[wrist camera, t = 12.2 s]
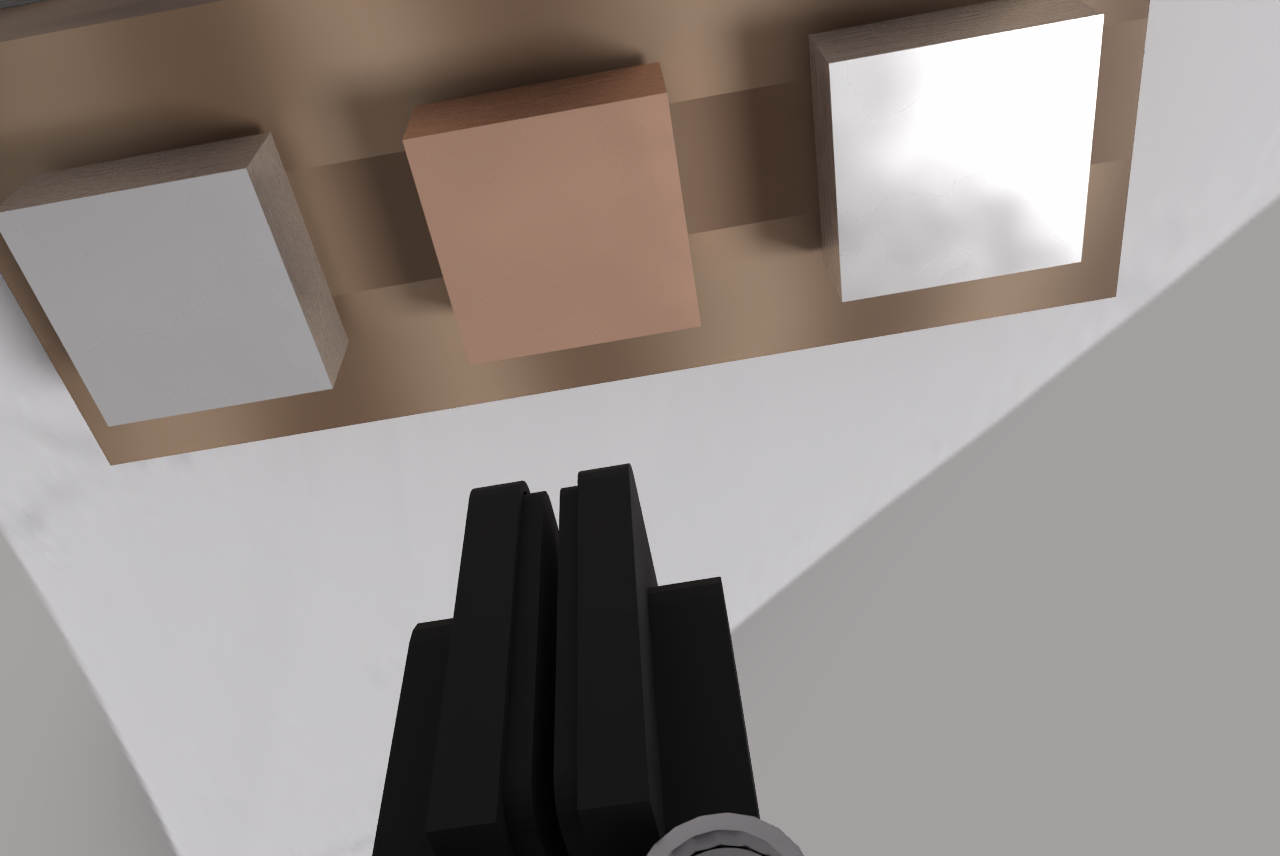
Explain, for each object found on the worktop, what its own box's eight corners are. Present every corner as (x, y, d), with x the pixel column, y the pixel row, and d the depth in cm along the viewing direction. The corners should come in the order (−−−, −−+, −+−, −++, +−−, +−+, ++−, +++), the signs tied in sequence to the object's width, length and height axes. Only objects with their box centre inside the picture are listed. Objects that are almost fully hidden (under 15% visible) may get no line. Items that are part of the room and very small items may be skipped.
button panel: (1082, -196, 23) (1170, -178, 19) (1052, 227, 28) (1115, 296, 25) (-24, 14, 24) (-119, 64, 20) (161, 380, 30) (110, 465, 26)
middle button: (646, 12, 24) (666, 92, 19) (676, 212, 27) (701, 326, 22) (434, 51, 24) (402, 140, 20) (487, 245, 27) (469, 365, 22)
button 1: (309, 73, 25) (245, 168, 20) (374, 264, 27) (333, 388, 23) (104, 111, 25) (-10, 214, 20) (189, 297, 28) (108, 426, 23)
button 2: (992, -52, 24) (1103, 14, 19) (986, 158, 27) (1081, 261, 22) (775, -11, 24) (829, 63, 19) (791, 191, 27) (842, 301, 22)
